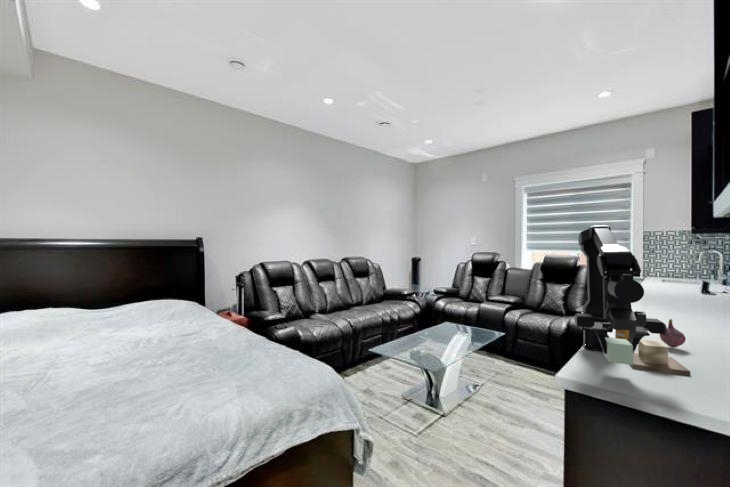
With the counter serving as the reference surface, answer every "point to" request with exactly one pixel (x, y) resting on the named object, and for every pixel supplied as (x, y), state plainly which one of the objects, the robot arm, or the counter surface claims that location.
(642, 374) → the counter surface
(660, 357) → the beech brick
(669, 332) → the vegetable
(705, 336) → the counter surface
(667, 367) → the walnut baseboard
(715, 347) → the counter surface
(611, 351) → the sage green brick
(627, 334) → the supplement box
